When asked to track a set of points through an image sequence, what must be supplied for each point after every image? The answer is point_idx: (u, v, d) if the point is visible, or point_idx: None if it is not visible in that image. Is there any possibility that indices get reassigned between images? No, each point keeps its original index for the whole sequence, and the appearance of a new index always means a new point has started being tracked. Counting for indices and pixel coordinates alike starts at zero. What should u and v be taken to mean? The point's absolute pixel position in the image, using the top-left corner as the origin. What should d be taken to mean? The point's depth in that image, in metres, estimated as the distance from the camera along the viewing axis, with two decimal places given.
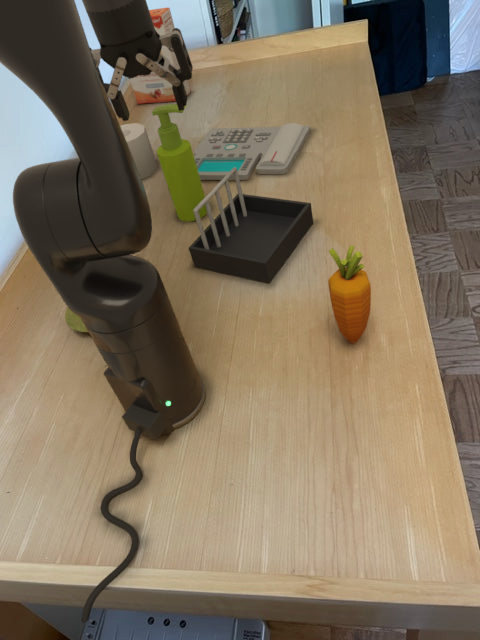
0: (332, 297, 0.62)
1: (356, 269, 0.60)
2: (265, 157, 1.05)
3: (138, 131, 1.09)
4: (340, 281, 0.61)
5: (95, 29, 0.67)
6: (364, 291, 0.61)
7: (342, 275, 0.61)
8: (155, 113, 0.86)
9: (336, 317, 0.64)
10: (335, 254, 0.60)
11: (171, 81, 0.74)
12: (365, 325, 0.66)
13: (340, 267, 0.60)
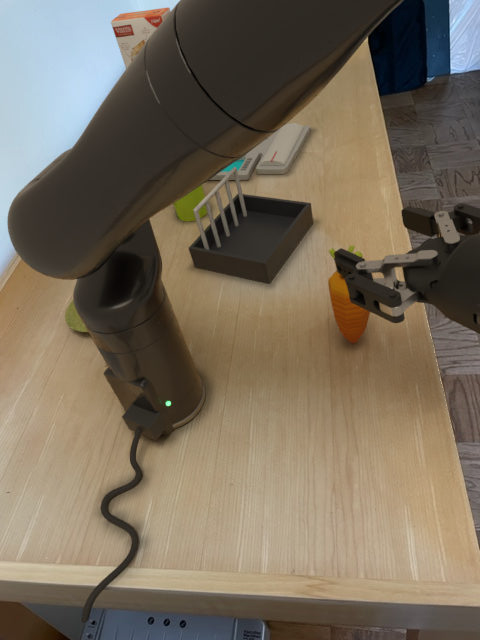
0: (332, 297, 0.62)
1: None
2: (265, 157, 1.05)
3: None
4: (340, 281, 0.61)
5: None
6: None
7: (342, 275, 0.61)
8: None
9: (336, 317, 0.64)
10: None
11: (369, 262, 0.47)
12: (365, 325, 0.66)
13: None
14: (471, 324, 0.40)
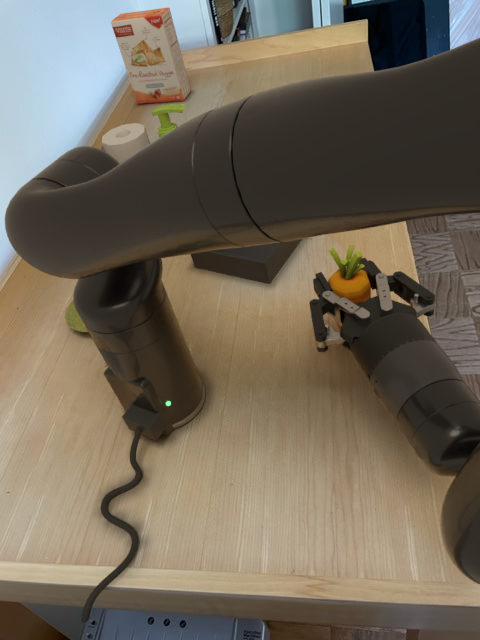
0: None
1: (356, 269, 0.60)
2: None
3: (138, 131, 1.09)
4: (340, 281, 0.61)
5: (424, 327, 0.52)
6: (364, 291, 0.61)
7: (342, 275, 0.61)
8: (155, 113, 0.86)
9: None
10: (335, 254, 0.60)
11: (333, 294, 0.60)
12: None
13: (340, 267, 0.60)
14: (368, 379, 0.53)
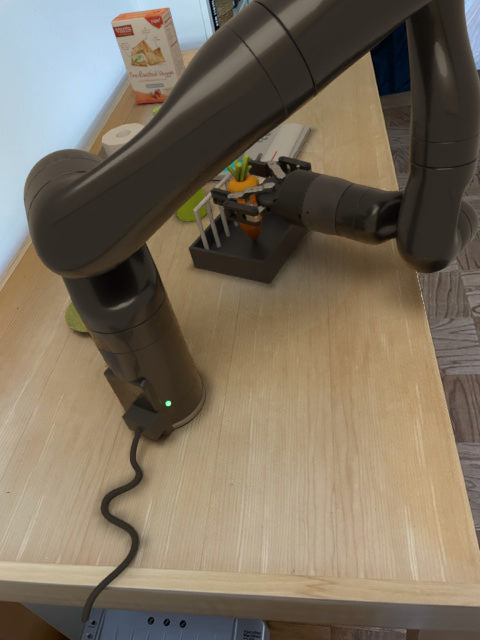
0: None
1: (247, 170, 0.79)
2: (265, 157, 1.05)
3: (138, 131, 1.09)
4: (239, 183, 0.79)
5: None
6: None
7: (238, 179, 0.79)
8: (155, 113, 0.86)
9: None
10: None
11: (235, 193, 0.76)
12: (261, 218, 0.85)
13: (236, 171, 0.78)
14: (298, 221, 0.72)
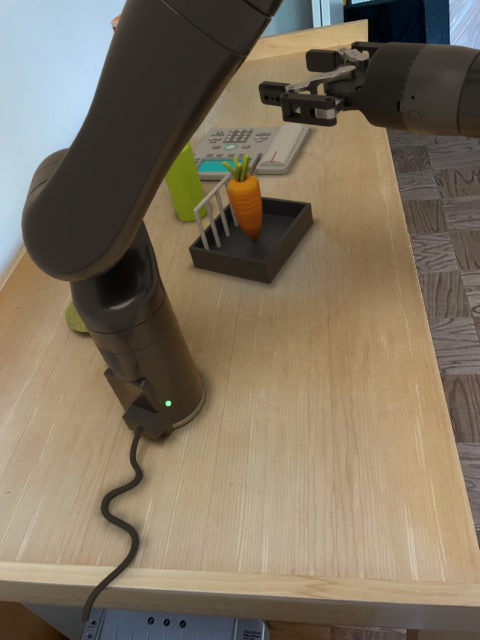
0: (237, 199, 0.80)
1: (247, 170, 0.79)
2: (265, 157, 1.05)
3: None
4: (239, 183, 0.79)
5: None
6: (257, 185, 0.80)
7: (238, 179, 0.79)
8: None
9: (242, 217, 0.82)
10: (228, 164, 0.78)
11: (296, 84, 0.53)
12: (261, 218, 0.85)
13: (236, 171, 0.78)
14: (394, 115, 0.49)
